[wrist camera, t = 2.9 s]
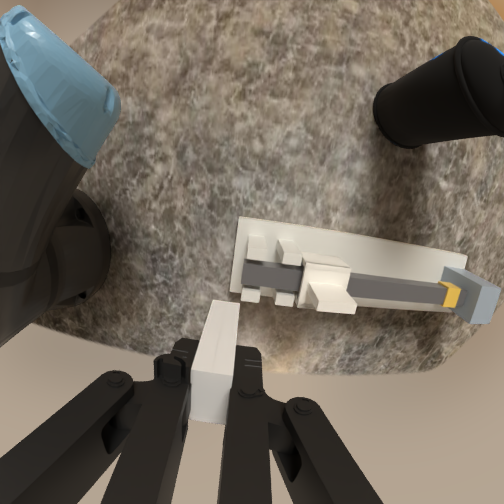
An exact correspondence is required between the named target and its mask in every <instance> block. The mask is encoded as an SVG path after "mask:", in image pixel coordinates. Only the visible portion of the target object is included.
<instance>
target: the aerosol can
mask: <svg viewBox="0 0 504 504" xmlns="http://www.w3.org/2000/svg"><path fill="white" fill-rule="evenodd" d="M374 116H375V120H376V122H377V125H378V127H379V129H380V130H381V132H382V133H383V134H384V136H385V137H386V138H387V139H388V140H389V141H391V142H392V143H394V144H395V145H397V146H399V147H402V148H406V149H413V148H417V147H419V146H421V145H423V144H430V143H436V142H443V141H450V140H458V139H465V138H474V137H482V136H492V135H498V136H500V137H504V54H503V53H502V52H501V51H500V50H498V49H497V48H495V47H494V46H492V45H491V44H489V43H488V42H486V41H484V40H483V39H480V38H478V37H474V36H467V37H463V38H462V39H460V40H459V42H458V43H457V45H456V46H454V47H452V48H451V49H449V50H447V51H445V52H444V53H442V54H440V55H438V56H437V57H435V58H433V59H431V60H430V61H428V62H426V63H425V64H423V65H421V66H420V67H418V68H416V69H415V70H413V71H411V72H410V73H408V74H406V75H405V76H403V77H402V78H400V79H398V80H397V81H395V82H394V83H389V84H387V85H385V86H383V87H382V88H381V89H380V90H379V91H378V92H377V94H376V97H375V99H374Z"/></svg>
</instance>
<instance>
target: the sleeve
mask: <svg viewBox="0 0 504 504" xmlns="http://www.w3.org/2000/svg"><path fill="white" fill-rule="evenodd" d="M301 253H302V254H303V256H302V262H301V266H304V270H303V276H302V281H301V286H300V291H293V290H292V291H293V293H294V296H295V298H294V300H295V303H296V305H297V308H306V309H316V311H323V312H334V313H345V314H355V311H356V308H357V303H356V302H355V301H354V300H353V298H352V297H351V296H350V295H349V294H348V292H347V291H346V290H347V286H348V282H349V277H350V273H351V268H350V267H349V266H348V265H347V264H346V263H345V262H344V261H342V260H341V259H340V258H339V257H336V256H329V255H322V254H315V253H308V252H301Z"/></svg>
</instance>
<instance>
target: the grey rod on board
mask: <svg viewBox="0 0 504 504" xmlns="http://www.w3.org/2000/svg"><path fill="white" fill-rule="evenodd" d="M301 252H308V253H315V254H322V255H329V256H336V257H339V258H340V259H341V260H342V261H344V262H345V263H346V264H347V265H348V266H349V267H350V268H351V273H350V277H349V282H348V286H347V290H346V291H347V292H348V294H349V295H350V296H351V297H352V298H353V300H354V301H355V302H356V303H357V306H363V307H376V308H389V309H403V310H418V311H435V312H451V311H453V312H454V313H456V314H457V315H458V316H460V317H461V318H462V319H464V320H465V321H466V322H468V323H469V324H489V323H490V320H491V318H492V315H493V312H494V309H495V307H496V304H497V301H498V298H499V294H500V291H501V288H500V287H498V286H496V285H494V284H492V283H490V282H488V281H486V280H484V279H483V278H481V277H479V276H477V275H475V274H473V273H471V272H469V271H467V270H465V265H466V261H467V257H468V256H466V255H463V254H460V253H455V252H450V251H445V250H440V249H435V248H430V247H425V246H420V245H415V244H409V243H404V242H399V241H393V240H388V239H382V238H377V237H371V236H365V235H359V234H353V233H347V232H341V231H335V230H329V229H323V228H317V227H310V226H304V225H297V224H291V223H284V222H277V221H270V220H263V219H256V218H249V217H242V216H239V222H238V229H237V237H236V244H235V252H234V260H233V268H232V276H231V284H230V292H236V293H241V301H248V302H255V303H259V300H260V296H267V297H273V298H274V303H275V305H281V306H290V307H293V302H294V298H295V296H294V293H293V291H300V286H301V281H302V276H303V270H304V266H301V262H302V256H303V254H302V253H301ZM292 290H293V291H292Z"/></svg>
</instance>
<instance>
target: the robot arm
mask: <svg viewBox="0 0 504 504" xmlns="http://www.w3.org/2000/svg"><path fill="white" fill-rule="evenodd" d="M120 111H121V100H120V97H119V94H118V92H117V91H116V89H115V88H114V87H113V86H112V85H111V84H110V83H109V82H108V81H107V80H106V79H105V78H103V77H102V76H101V75H100V74H99V73H98V72H97V71H96V70H95V69H94V68H93V67H91V66H90V65H89V64H88V63H87V62H86V61H85V60H84V59H83V58H81V57H80V56H79V55H78V54H77V53H76V52H75V51H74V50H73V49H71V48H70V47H69V46H68V45H67V44H66V43H65V42H64V41H62V40H61V39H60V38H59V37H58V36H57V35H56V34H54V33H53V32H52V31H50V29H48V28H47V27H46V26H45V25H44V24H43V23H41V22H40V21H39V20H38V19H37V18H36V17H35V16H33V15H32V14H31V13H30V12H29V11H28V10H27V9H25V8H24V7H23V6H21V5H18V6H15V7H14V8H12V9H11V10H10V11H9V12H7V13H5V14H4V15H3V16H2V17H1V19H0V347H1V346H2V345H4V344H5V343H6V342H8V341H9V340H10V339H11V338H12V337H14V336H15V335H16V334H17V333H19V332H20V331H21V330H23V329H24V328H25V327H26V326H27V325H29V324H30V323H31V322H33V321H34V320H35V319H37V318H38V317H39V316H40V315H42V314H43V313H44V312H46V311H47V310H54V309H60V308H66V307H72V306H76V305H79V304H81V303H83V302H84V301H86V300H87V299H88V298H90V297H91V296H92V295H93V294H95V293H96V292H97V291H98V290H99V289H100V287H101V286H102V284H103V283H104V281H105V279H106V276H107V273H108V270H109V265H110V258H111V247H110V238H109V233H108V230H107V226H106V223H105V221H104V219H103V216H102V214H101V212H100V211H99V209H98V207H97V206H96V205H95V203H94V202H93V201H92V200H91V199H90V198H89V197H88V196H87V195H86V194H85V193H83V192H82V191H80V190H79V189H77V186H78V184H79V183H80V181H81V179H82V178H83V176H84V174H85V173H86V171H87V169H88V168H89V169H90V168H91V167H92V166H93V165H94V164H95V161H96V155H97V153H98V151H99V149H100V148H101V146H102V144H103V143H104V141H105V139H106V138H107V136H108V135H109V133H110V132H111V130H112V128H113V127H114V125H115V124H116V122H117V120H118V118H119V115H120ZM239 308H240V303H234V302H227V301H219V300H213V301H212V304H211V307H210V311H209V314H208V317H207V320H206V323H205V326H204V329H203V333H202V336H201V339H200V341H199V340H192V339H187V338H181V339H180V340H178V341H177V342H175V345H174V347H173V350H172V351H171V353H170V354H163V355H160V356H158V357H156V358H155V360H154V380H151V381H144V382H138V381H133V379H132V378H131V376H130V375H129V374H127V373H126V372H122V371H116V370H115V371H114V370H113V371H108V372H106V373H104V374H102V375H101V376H100V377H99V378H97V379H96V380H95V381H94V382H92V383H91V384H90V385H89V386H88V387H87V388H85V389H84V390H83V391H82V392H80V393H79V394H78V395H77V396H75V397H74V398H73V399H72V400H70V401H69V402H68V403H67V404H66V405H64V406H63V407H62V408H61V409H60V410H58V411H57V412H56V413H55V414H53V415H52V416H51V417H50V418H49V419H47V420H46V421H45V422H44V423H42V424H41V425H40V426H39V427H38V428H36V429H35V430H34V431H33V432H32V433H31V434H29V435H28V436H27V437H25V438H24V439H23V440H22V441H21V442H19V443H18V444H17V445H16V446H14V447H13V448H12V449H11V450H10V451H9V452H7V453H6V454H5V455H3V456H2V457H1V458H0V504H77V503H78V502H79V501H80V500H81V499H82V497H83V496H84V495H85V494H86V493H87V492H88V490H89V489H90V488H91V487H92V486H93V485H94V484H95V482H96V481H97V480H98V479H99V478H100V477H101V475H102V474H103V473H104V472H105V471H106V470H107V468H108V467H109V466H110V465H111V464H112V462H113V461H114V460H115V459H116V458H117V457H118V455H119V454H120V453H121V455H120V457H119V460H118V462H117V464H116V467H115V469H114V472H113V474H112V476H111V479H110V481H109V484H108V486H107V489H106V491H105V494H104V496H103V499H102V501H101V504H171V500H172V496H173V492H174V487H175V483H176V478H177V474H178V469H179V465H180V460H181V456H182V452H183V447H184V443H185V438H186V434H187V430H188V419H189V414H190V420H197V421H202V422H209V423H216V424H224V425H225V432H224V439H223V451H222V460H221V470H220V479H219V480H220V481H219V489H218V500H217V504H272V493H271V475H270V456H269V449H270V450H272V453H273V456H274V458H275V461H276V463H277V466H278V468H279V471H280V473H281V475H282V477H283V480H284V483H285V485H286V487H287V490H288V492H289V494H290V497H291V499H292V501H293V504H383V502H382V501H381V499H380V498H379V496H378V495H377V493H376V492H375V490H374V489H373V487H372V486H371V484H370V483H369V481H368V480H367V479H366V477H365V475H364V474H363V472H362V471H361V470H360V468H359V466H358V465H357V463H356V462H355V460H354V459H353V458H352V456H351V454H350V453H349V451H348V450H347V448H346V447H345V445H344V443H343V442H342V440H341V439H340V437H339V436H338V434H337V433H336V431H335V430H334V428H333V426H332V425H331V423H330V422H329V420H328V419H327V417H326V416H325V414H324V412H323V411H322V409H321V408H320V406H319V405H318V404H317V403H316V402H315V401H313V400H311V399H308V398H304V397H296V398H292V399H290V400H289V401H287V403H283V402H280V401H277V400H274V399H272V398H271V397H269V396H268V395H267V394H266V393H265V390H264V389H263V380H262V362H261V361H262V359H261V353H260V352H259V350H258V349H257V348H255V347H247V346H239V345H236V339H237V329H238V318H239Z"/></svg>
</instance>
